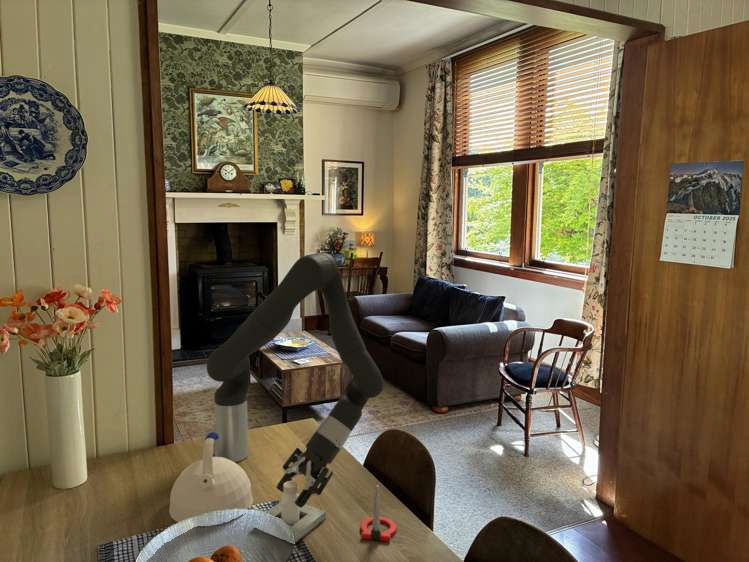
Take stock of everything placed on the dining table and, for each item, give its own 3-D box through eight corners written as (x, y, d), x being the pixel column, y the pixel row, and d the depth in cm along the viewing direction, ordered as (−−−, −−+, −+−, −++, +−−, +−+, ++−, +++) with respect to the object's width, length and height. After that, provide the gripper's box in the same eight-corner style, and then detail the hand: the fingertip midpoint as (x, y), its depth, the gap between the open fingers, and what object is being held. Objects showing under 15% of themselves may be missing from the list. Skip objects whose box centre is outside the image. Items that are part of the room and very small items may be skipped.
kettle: (160, 532, 130) (157, 458, 128) (177, 487, 151) (174, 422, 148) (250, 525, 134) (249, 453, 131) (255, 481, 154) (253, 418, 151)
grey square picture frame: (253, 528, 132) (253, 520, 132) (287, 504, 142) (287, 497, 142) (293, 545, 126) (293, 536, 126) (325, 519, 136) (325, 511, 136)
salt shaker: (298, 526, 133) (298, 488, 131) (281, 526, 132) (281, 488, 131) (299, 516, 137) (299, 479, 135) (282, 517, 136) (282, 480, 135)
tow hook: (363, 519, 137) (356, 540, 128) (365, 468, 136) (358, 485, 127) (398, 522, 136) (393, 544, 127) (400, 471, 135) (395, 489, 126)
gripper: (304, 422, 142) (263, 478, 136) (336, 441, 131) (293, 504, 125) (321, 436, 146) (283, 492, 140) (354, 456, 135) (314, 518, 129)
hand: (288, 497), depth 133 cm, fingers open, 8 cm apart
